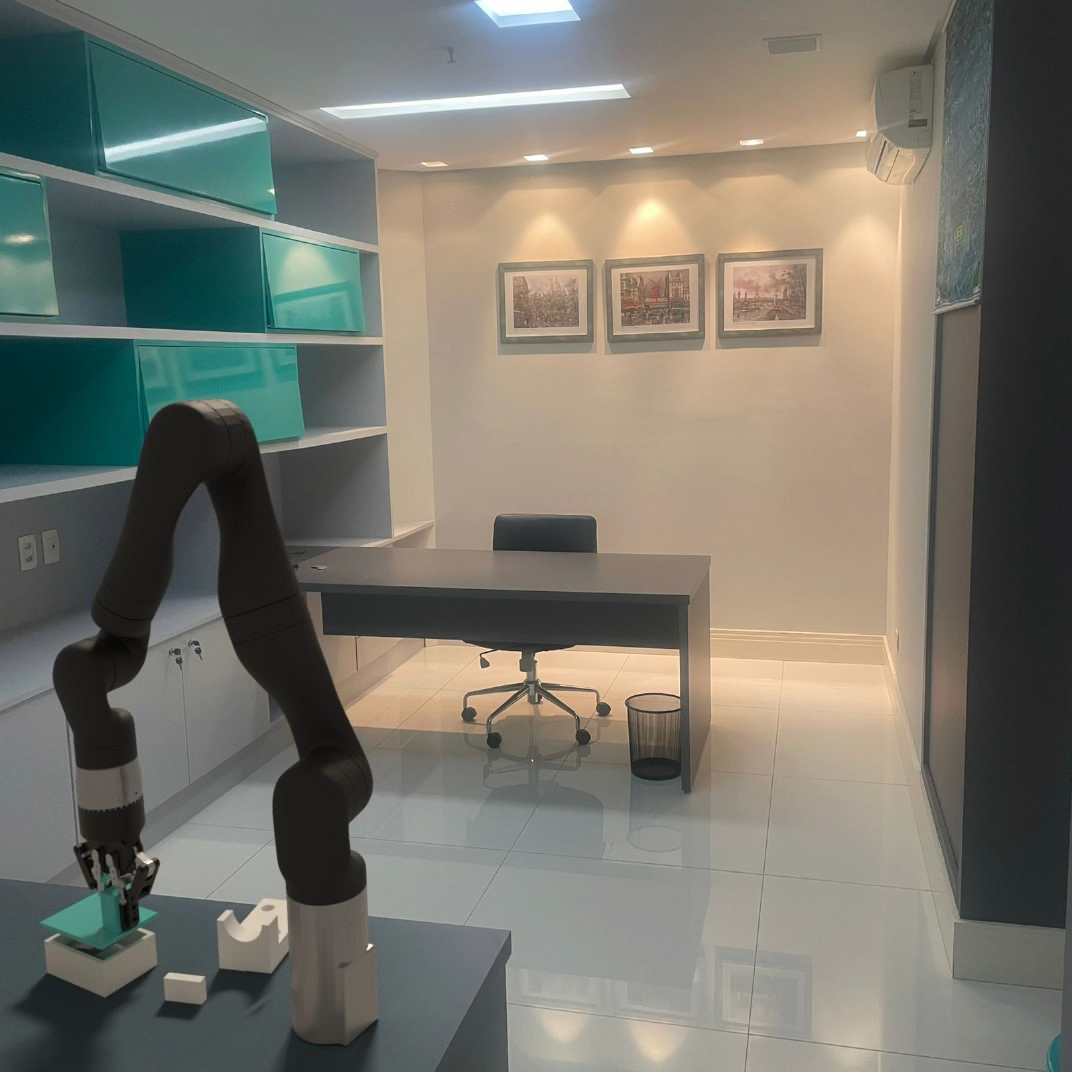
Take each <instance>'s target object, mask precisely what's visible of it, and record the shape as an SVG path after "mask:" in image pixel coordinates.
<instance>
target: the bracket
mask: <svg viewBox="0 0 1072 1072" xmlns="http://www.w3.org/2000/svg"><path fill="white" fill-rule="evenodd" d="M216 929H217V944H218V961H219V969H224V970H233V971H241V972H246V971H247V972H254V973H255V972H256V973H264V974H272V973H273V972H274V971H275V969H276V968H277V967H278V966H279V964H280V963H281V962H282V960H283V959H284V958H285V956H286V955H287V953H289V941H288V922H287V900H286V899H285V900H284V899H278V898H277V899H275V898H265V897H263V899H261V901H260V902H259V903H258V904H257V905H256V906H255V907H254V909H252V911H251V912H250V913H249V914H248V915H247V917H245V919H244V920H242V922H241V923H239V921H238V919H236V916H235V913H234V910H232V909H226V910H225V911H224V912H223V913H222V914H221V915H220V916H219V917H218V918H217V919H216Z"/></svg>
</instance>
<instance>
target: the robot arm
mask: <svg viewBox="0 0 1072 1072" xmlns="http://www.w3.org/2000/svg"><path fill="white" fill-rule="evenodd" d="M200 484H204V485H205V487H206V490H207V493H208V496H209V498H210V501H211V504H212V507H213V511H214V512H215V516H216V520H217V524H218V525H217V526H218V531H219V553H218V554H219V555H218V556H219V557H218V567H217V568H218V570H217V599H218V601H217V602H218V605H219V610H220V614H221V616H222V619H223V622H224V626H225V628H226V631H227V634H228V637H229V639H230V642H231V645H232V647H233V650H234V652H235V655H236V657H237V659H238V661H239V662H240V663H241V665H242V666H243V667H244V669H245V670H246V672H248V674H249V675H250V676H251V677H252V679H253V680H255V682H256V683H257V684H258V685H259V686H260V687H261V688H262V689H263V690H264V691H265V692H266V693H267V694H268V695H269V696H270V697H271V698H272V700H274V702H275V703H276V704H277V706H278V707H279V708H280V710H281V711H282V713H283V715H284V717H285V719H286V722H287V723H288V725H289V728H290V732H291V734H292V737H293V740H294V744H295V747H296V750H297V755H298V759H299V760H298V761H296V762H295V763H293V764H292V765H291V766H290V767H288V768H287V769H286V770H285V771H284V772H282V774H281V775H280V776H279V777H278V779H277V780H276V781H275V785H274V789H273V792H272V793H273V794H272V801H271V803H272V806H271V807H272V808H271V809H272V810H271V811H272V822H273V823H272V824H273V825H272V826H273V834H274V844H275V852H276V853H275V854H276V861H277V866H278V869H279V871H280V874H281V875H282V877H283V880H284V881H285V894H286V896H285V897H286V899H285V900H287V922H288V941H289V951H288V955H289V956H288V957H289V975H290V976H289V977H290V993H291V1012H292V1015H291V1016H292V1028H293V1031H294V1033H295V1034H296V1035H297V1037H298V1038H301V1039H302V1040H303V1041H306V1042H308V1043H311V1044H317V1045H331V1044H332V1045H333V1044H334V1045H335V1044H339V1045H342V1046H349V1045H350V1044H351V1043H352V1042H353V1041H354V1040H355V1039H356V1038H357V1037H358V1036H359V1035H361V1034H362V1033H363V1032H364V1031H365V1030H366V1029H368V1028H369V1027H370V1026H372V1024H374V1022H375V1021H377V1020H378V1019H379V1018H380V1017H379V995H378V994H379V992H378V991H379V990H378V963H377V961H378V960H377V946H376V945H375V944H373V943H370V935H369V911H368V910H369V909H368V905H369V904H368V903H369V902H368V882H367V881H368V879H367V876H368V875H367V874H368V873H367V864H366V861H365V859H364V857H363V856H362V855H361V854H360V852H358V851H355V850H354V849H351V842H350V823H352V821H354V820H355V818H356V817H358V816H359V815H360V814H361V813H362V811H363V810H364V809H365V808H366V807H367V805H369V802H370V800H371V799H372V795H373V790H374V778H373V772H372V769H371V765H370V763H369V761H368V758H367V756H366V753H365V751H364V749H363V746H362V745H361V743H360V740H359V739H358V736H357V734H356V732H355V730H354V728H353V726H352V724H351V722H350V719H349V717H348V716H347V712H346V710H345V709H344V707H343V704H342V702H341V699H340V697H339V693H338V691H337V690H336V686H335V683H334V680H333V677H332V675H331V672H330V668H329V665H328V663H327V660H326V657H325V656H324V653H323V650H322V647H321V644H320V641H319V639H318V636H317V633H316V628H315V626H314V622H313V619H312V616H311V612H310V610H309V607H308V604H307V602H306V601H307V600H306V599H305V596H304V593H303V590H302V587H301V583H300V582H299V579H298V576H297V574H296V572H295V569H294V567H293V564H292V560H291V557H290V554H289V550H288V549H287V545H286V542H285V539H284V535H283V533H282V532H283V531H282V530H281V527H280V525H279V521H278V519H277V515H276V512H275V509H274V505H273V502H272V501H273V500H272V498H271V493H270V490H269V486H268V482H267V477H266V472H265V469H264V463H263V459H262V454H261V450H260V447H259V442H258V439H257V435H256V432H255V429H254V427H253V425H252V422H251V421H250V419H249V416H247V414H246V413H245V412H244V411H243V409H241V408H240V406H238V405H237V404H235V403H233V402H232V401H230V400H226V399H222V398H203V399H192V400H182V401H176V402H175V401H174V402H172V403H169V404H167V405H165V406H163V407H161V408H160V409H159V410H158V411H157V412H156V413H155V414H154V416H152V418H151V421H150V423H149V425H148V427H147V429H146V433H145V435H144V438H143V443H142V447H141V451H140V454H139V460H138V464H137V468H136V473H135V478H134V482H133V485H132V488H131V493H130V497H129V501H128V505H127V510H126V513H125V518H124V521H123V525H122V528H121V531H120V534H119V535H120V536H119V538H118V541H117V543H116V547H115V549H114V552H113V554H112V557H111V559H110V561H109V563H108V565H107V567H106V570H105V572H104V574H103V577H102V579H101V582H100V583H99V586H98V589H97V591H96V592H95V595H94V597H93V601H92V603H91V608H90V616H91V618H92V621H93V622H94V623H95V625H96V626H97V627H98V628H99V629H100V630H99V631H98V632H97V633H96V634H95V635H92V636H89V637H86V638H83V639H82V640H79V641H76V642H73V643H70V644H68V645H66V646H65V647H63V648H62V649H61V650H60V651H59V652H58V653H57V655H56V657H55V659H54V662H53V667H52V672H51V673H52V674H51V675H52V676H51V677H52V683H53V687H54V690H55V694H56V696H57V698H58V700H59V703H60V706H61V707H62V710H63V712H64V716H65V718H66V721H67V723H68V725H69V727H70V730H71V732H72V736H73V749H74V759H75V778H74V779H75V794H76V803H77V804H76V805H77V814H78V823H79V824H78V826H79V834H80V837H82V838H83V839H84V840H83V841H81V842H79V843H77V844H75V845H74V846H73V848H72V851H73V853H74V855H75V858H76V860H77V863H78V864H79V865H78V866H79V867H80V870H81V873H82V875H83V878H84V879H85V882H86V884H87V887H88V888H89V890H91V891H94V890H97V892H98V895H99V896H100V892H101V891H103V890H106V889H107V888H109V887H111V886H113V887H116V889H117V895H118V900H119V903H120V904H119V912H120V922H121V929H122V930H123V931H126V932H127V931H129V930H131V929H133V928H134V927H136V926H137V925H138V923H139V921H140V916H139V905H140V904H139V901H140V900H142V899H144V898H146V897H148V896H149V895H150V894H151V892H152V889H153V887H154V883H155V880H156V877H157V875H158V872H159V869H160V866H161V861H160V859H159V858H158V857H153V858H151V859H150V857H148V856H147V855H146V854H145V853H144V844H142V841H141V833H142V831H143V829H144V827H145V825H146V813H145V812H146V811H145V800H144V789H143V776H142V770H141V769H142V768H141V765H140V762H139V756H138V745H137V733H136V723H135V719H134V716H133V715H132V713H131V712H130V711H128V710H127V709H124V708H121V707H111V706H110V703H109V700H108V694H109V693H111V692H113V691H115V690H118V689H120V688H123V687H124V686H126V685H128V684H129V683H131V682H132V681H133V680H134V679H136V677H137V676H138V674H139V673H140V671H141V670H142V668H143V667H144V665H145V662H146V659H147V656H148V648H149V644H150V643H149V642H150V637H151V631H152V629H151V628H152V622H153V620H154V618H155V616H156V614H157V612H158V610H159V608H160V606H161V604H162V602H163V599H164V596H166V592H167V590H168V587H169V585H170V582H171V580H172V576H173V572H174V567H175V565H174V564H175V534H176V530H177V524H178V523H179V519H180V516H181V514H182V512H183V510H184V508H185V506H186V505H187V503H188V502H189V500H190V498H191V497H192V495H193V494H194V493H195V491H196V489H198V488H199V485H200ZM92 870H93V871H92ZM129 883H130V887H131V888H130V891H128V892H127V891H126V886H127V885H128V884H129ZM138 904H139V905H138Z"/></svg>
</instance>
